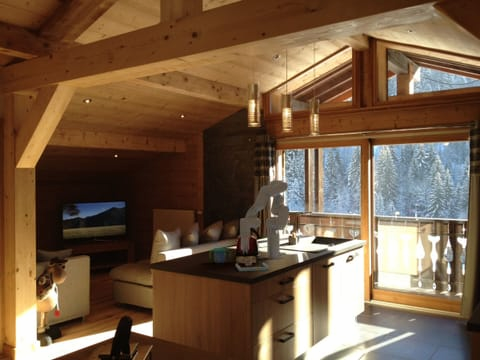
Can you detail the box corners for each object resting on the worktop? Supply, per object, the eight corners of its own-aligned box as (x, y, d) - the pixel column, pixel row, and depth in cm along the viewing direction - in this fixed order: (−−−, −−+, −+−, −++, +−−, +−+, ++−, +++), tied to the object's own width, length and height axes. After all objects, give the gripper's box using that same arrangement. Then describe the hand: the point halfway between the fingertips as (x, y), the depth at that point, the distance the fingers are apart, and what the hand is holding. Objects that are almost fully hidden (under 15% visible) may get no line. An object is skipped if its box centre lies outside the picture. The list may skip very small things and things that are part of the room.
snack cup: (209, 264, 334) (209, 250, 334) (209, 261, 345) (209, 247, 345) (231, 263, 336) (231, 249, 336) (230, 260, 346) (230, 247, 346)
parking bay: (263, 265, 328) (263, 262, 328) (269, 270, 311) (269, 267, 311) (235, 266, 325) (235, 263, 325) (239, 271, 308) (239, 268, 308)
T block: (255, 261, 343) (255, 256, 343) (258, 265, 329) (258, 259, 329) (236, 262, 341) (236, 256, 341) (239, 265, 327) (239, 260, 327)
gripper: (238, 233, 351) (238, 258, 351) (241, 236, 336) (241, 261, 336) (248, 233, 352) (248, 257, 352) (251, 236, 337) (252, 261, 337)
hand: (245, 259), depth 344 cm, fingers closed
